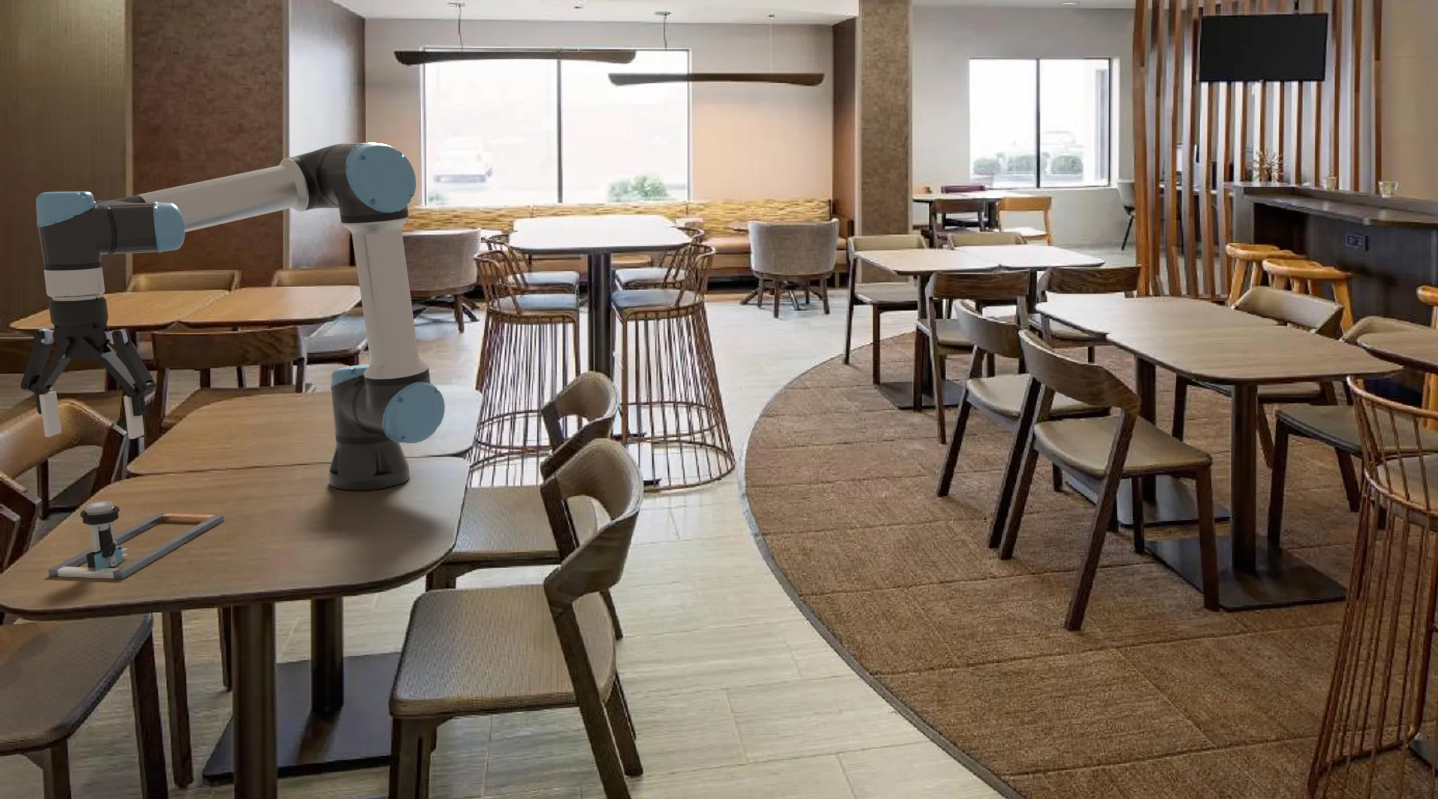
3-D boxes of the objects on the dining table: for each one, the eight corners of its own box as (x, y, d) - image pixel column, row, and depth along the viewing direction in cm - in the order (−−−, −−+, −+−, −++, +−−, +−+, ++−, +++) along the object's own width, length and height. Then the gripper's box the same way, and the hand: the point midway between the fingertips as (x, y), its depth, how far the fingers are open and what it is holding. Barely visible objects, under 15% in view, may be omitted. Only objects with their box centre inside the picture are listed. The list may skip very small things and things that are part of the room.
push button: (114, 555, 178) (106, 495, 176) (140, 559, 177) (133, 498, 174) (79, 570, 172) (71, 508, 170) (106, 573, 170) (98, 511, 168)
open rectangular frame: (223, 520, 195) (223, 515, 195) (122, 578, 168) (122, 572, 168) (159, 518, 197) (159, 513, 197) (49, 575, 170) (48, 569, 169)
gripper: (170, 294, 168) (185, 431, 172) (17, 293, 171) (36, 428, 175) (140, 300, 161) (156, 443, 165) (-20, 299, 163) (1, 440, 168)
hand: (94, 436), depth 170 cm, fingers open, 13 cm apart
